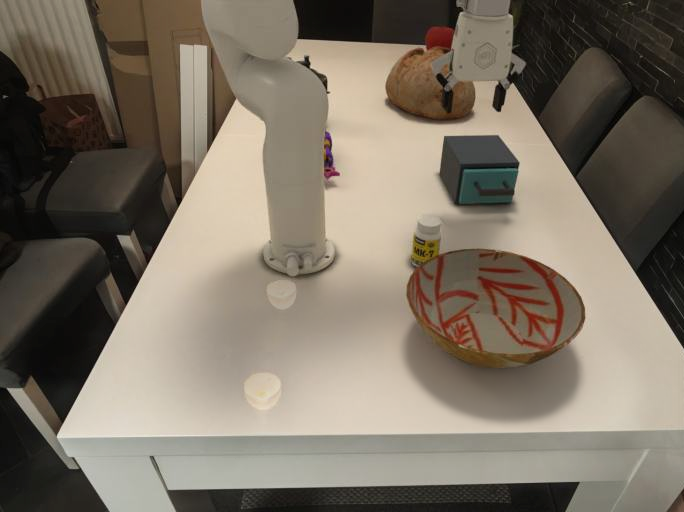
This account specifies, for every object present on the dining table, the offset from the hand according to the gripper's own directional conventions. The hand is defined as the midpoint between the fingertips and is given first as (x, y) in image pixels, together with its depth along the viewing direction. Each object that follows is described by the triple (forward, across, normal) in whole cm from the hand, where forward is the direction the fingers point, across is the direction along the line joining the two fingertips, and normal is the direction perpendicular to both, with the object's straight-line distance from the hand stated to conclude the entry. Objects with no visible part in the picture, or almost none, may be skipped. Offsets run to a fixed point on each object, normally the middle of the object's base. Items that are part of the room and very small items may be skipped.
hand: (471, 110), depth 103 cm
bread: (+19, +7, +57) cm, 60 cm away
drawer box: (+19, +5, +6) cm, 20 cm away
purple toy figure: (+19, -31, +20) cm, 41 cm away
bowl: (+18, -8, -43) cm, 48 cm away
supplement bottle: (+18, -13, -22) cm, 31 cm away
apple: (+20, +21, +100) cm, 104 cm away
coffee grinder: (+19, -29, +43) cm, 56 cm away
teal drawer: (+18, +5, +1) cm, 18 cm away
